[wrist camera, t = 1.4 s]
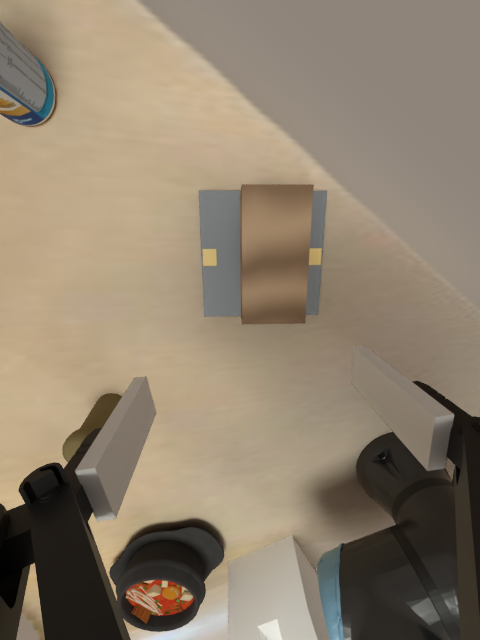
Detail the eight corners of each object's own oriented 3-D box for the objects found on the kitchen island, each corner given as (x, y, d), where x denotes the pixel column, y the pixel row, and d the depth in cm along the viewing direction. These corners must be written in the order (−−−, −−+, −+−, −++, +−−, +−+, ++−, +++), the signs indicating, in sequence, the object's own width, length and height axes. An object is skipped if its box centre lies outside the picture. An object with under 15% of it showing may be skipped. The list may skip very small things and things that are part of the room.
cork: (134, 398, 45) (103, 444, 34) (126, 426, 46) (94, 479, 36) (99, 389, 44) (57, 432, 33) (92, 417, 45) (50, 468, 35)
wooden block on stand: (238, 206, 36) (241, 184, 24) (287, 206, 36) (313, 184, 25) (239, 303, 39) (242, 324, 28) (283, 302, 40) (304, 323, 28)
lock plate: (323, 193, 37) (347, 177, 29) (314, 312, 42) (333, 326, 34) (199, 193, 37) (191, 177, 29) (205, 314, 41) (199, 328, 33)
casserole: (148, 600, 58) (134, 657, 50) (94, 551, 54) (70, 605, 46) (240, 555, 55) (242, 607, 47) (192, 500, 51) (185, 547, 43)
